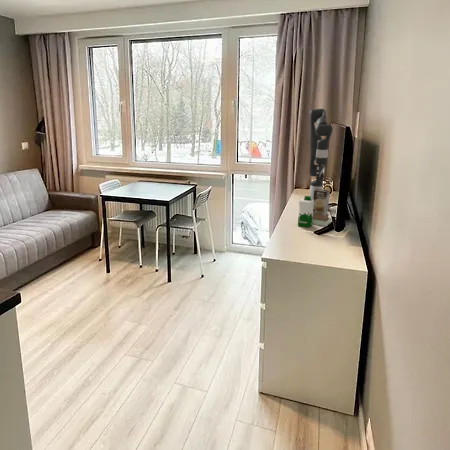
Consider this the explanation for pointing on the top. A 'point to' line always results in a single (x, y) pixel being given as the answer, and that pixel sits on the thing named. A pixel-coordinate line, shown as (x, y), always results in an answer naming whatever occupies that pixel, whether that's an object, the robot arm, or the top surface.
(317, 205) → the coffee box
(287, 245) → the top surface
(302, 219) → the milk carton
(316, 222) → the box
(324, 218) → the block
